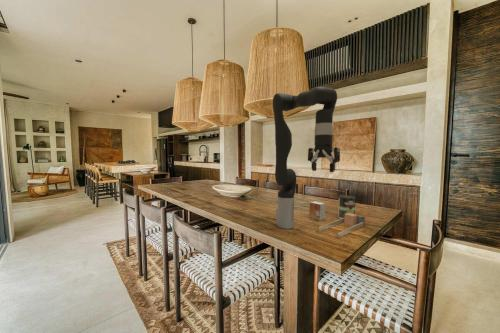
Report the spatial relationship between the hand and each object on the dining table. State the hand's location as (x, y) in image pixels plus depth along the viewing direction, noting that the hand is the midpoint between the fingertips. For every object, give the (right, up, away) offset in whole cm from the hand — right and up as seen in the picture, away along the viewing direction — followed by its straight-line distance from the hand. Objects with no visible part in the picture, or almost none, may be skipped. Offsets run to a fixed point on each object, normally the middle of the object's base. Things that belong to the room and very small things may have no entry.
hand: (322, 171), depth 93 cm
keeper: (+28, -32, +33) cm, 54 cm away
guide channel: (+19, -33, +26) cm, 46 cm away
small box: (+11, -32, +43) cm, 55 cm away
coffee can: (+31, -32, +46) cm, 64 cm away
